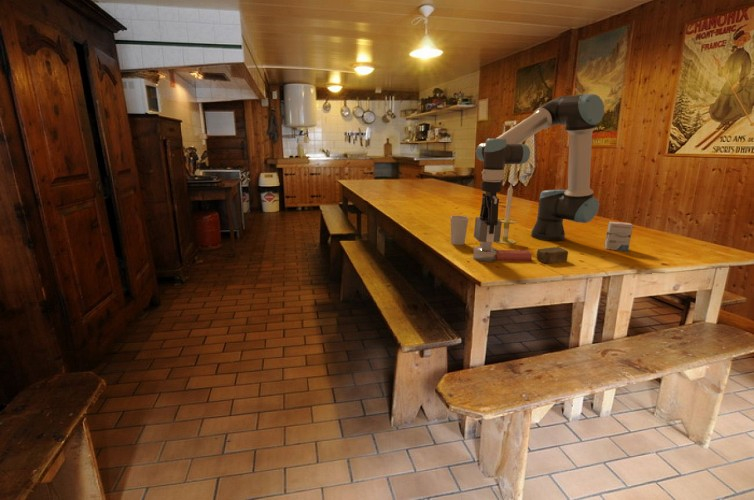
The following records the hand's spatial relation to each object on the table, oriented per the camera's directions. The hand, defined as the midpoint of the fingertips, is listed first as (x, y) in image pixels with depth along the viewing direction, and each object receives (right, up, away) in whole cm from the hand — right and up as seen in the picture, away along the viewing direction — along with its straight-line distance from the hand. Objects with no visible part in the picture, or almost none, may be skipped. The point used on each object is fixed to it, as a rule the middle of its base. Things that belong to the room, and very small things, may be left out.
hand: (486, 238), depth 158 cm
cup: (-7, -2, +24) cm, 25 cm away
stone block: (+26, -9, +1) cm, 28 cm away
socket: (0, 0, 0) cm, 0 cm away
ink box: (+63, -4, +19) cm, 66 cm away
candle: (+16, -1, +29) cm, 33 cm away
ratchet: (+7, -8, +3) cm, 11 cm away
